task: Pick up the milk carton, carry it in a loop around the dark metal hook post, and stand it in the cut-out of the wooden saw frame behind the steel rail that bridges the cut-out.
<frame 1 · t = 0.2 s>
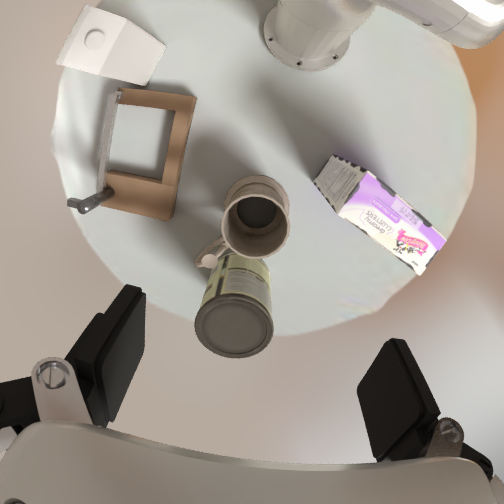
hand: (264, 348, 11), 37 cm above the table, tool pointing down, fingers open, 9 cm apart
mug: (244, 214, 47), on the table
rail: (118, 142, 42), on the table
hook post: (116, 189, 45), resting on wooden saw frame
coffee can: (240, 277, 51), on the table
candy box: (356, 193, 45), on the table
milk carton: (138, 60, 37), on the table
wooden saw frame: (147, 151, 43), on the table
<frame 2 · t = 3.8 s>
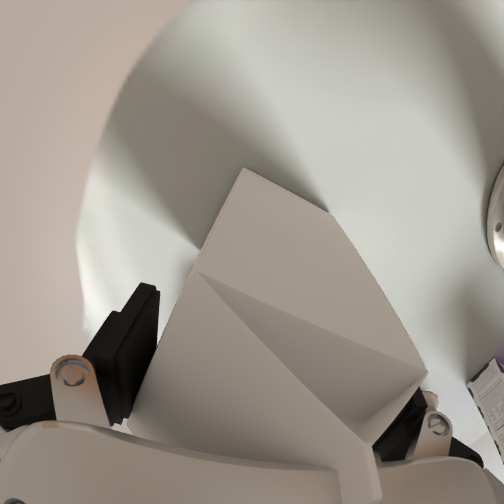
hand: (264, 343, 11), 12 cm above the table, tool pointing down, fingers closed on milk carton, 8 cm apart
candy box: (494, 380, 29), on the table
milk carton: (265, 232, 22), on the table, touching gripper
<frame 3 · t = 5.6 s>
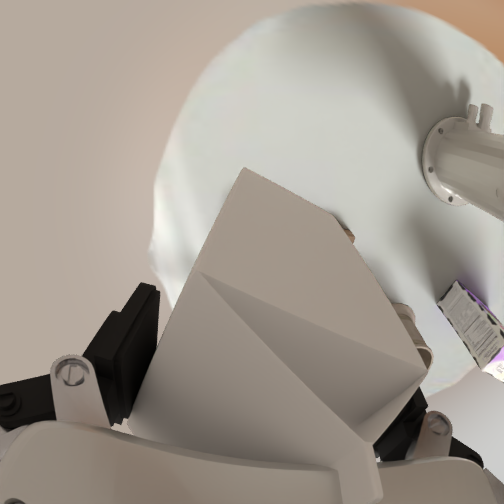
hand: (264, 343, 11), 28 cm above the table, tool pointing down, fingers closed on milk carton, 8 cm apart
mug: (376, 334, 46), on the table
candy box: (464, 306, 43), on the table
milk carton: (265, 232, 22), point 16 cm above the table, touching gripper
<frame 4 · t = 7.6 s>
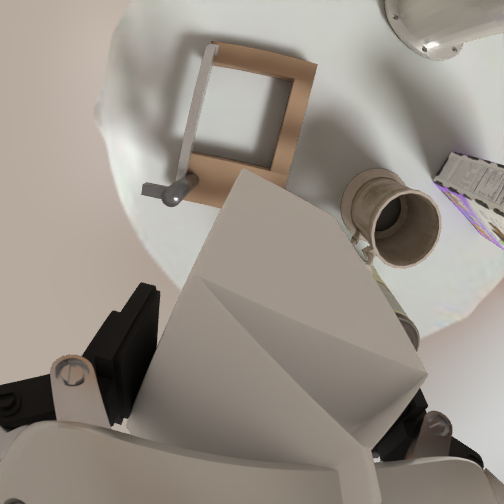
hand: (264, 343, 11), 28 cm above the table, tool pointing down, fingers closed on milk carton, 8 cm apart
mug: (361, 214, 37), on the table
rail: (201, 114, 33), on the table
hook post: (195, 176, 36), resting on wooden saw frame
coffee can: (347, 289, 42), on the table
candy box: (467, 194, 35), on the table
milk carton: (264, 233, 22), point 16 cm above the table, touching gripper
wooden saw frame: (245, 128, 33), on the table
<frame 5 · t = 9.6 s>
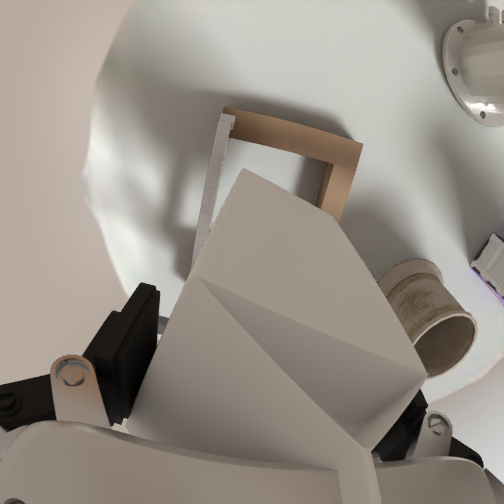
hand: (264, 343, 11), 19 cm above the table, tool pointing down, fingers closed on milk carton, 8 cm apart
mug: (392, 305, 33), on the table
rail: (214, 200, 28), on the table
candy box: (500, 272, 30), on the table
milk carton: (264, 233, 22), point 7 cm above the table, touching gripper
wooden saw frame: (268, 219, 29), on the table
when the fingers open (12 cm above the table, at t = 11.3 s): milk carton stays where it is, on the table.
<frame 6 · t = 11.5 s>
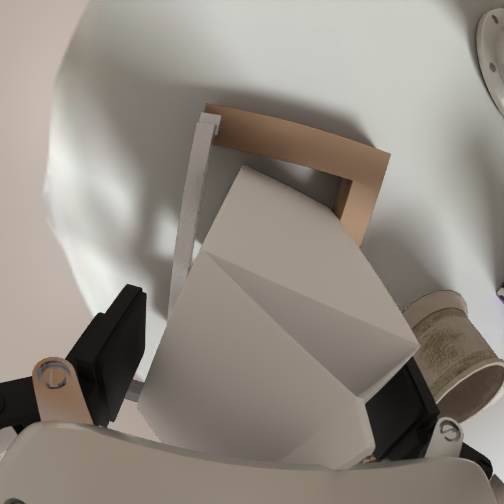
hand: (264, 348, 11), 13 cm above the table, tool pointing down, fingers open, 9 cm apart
mug: (409, 342, 27), on the table
rail: (197, 225, 22), on the table
milk carton: (265, 226, 23), on the table
wooden saw frame: (265, 249, 23), on the table
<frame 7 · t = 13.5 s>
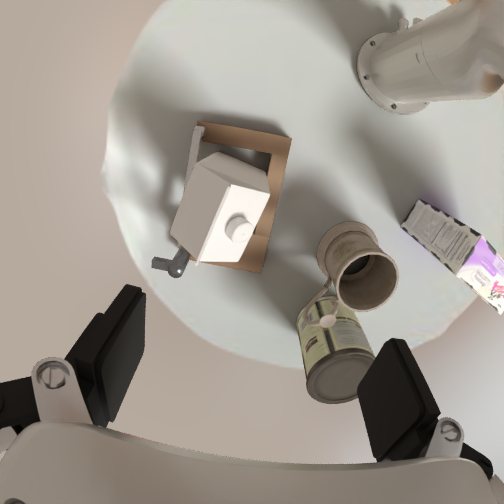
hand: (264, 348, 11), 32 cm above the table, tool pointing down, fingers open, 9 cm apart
mug: (335, 260, 45), on the table
rail: (194, 185, 41), on the table
hook post: (193, 237, 44), resting on wooden saw frame
coffee can: (326, 320, 49), on the table
candy box: (434, 233, 43), on the table
milk carton: (231, 183, 41), on the table
wooden saw frame: (232, 196, 41), on the table
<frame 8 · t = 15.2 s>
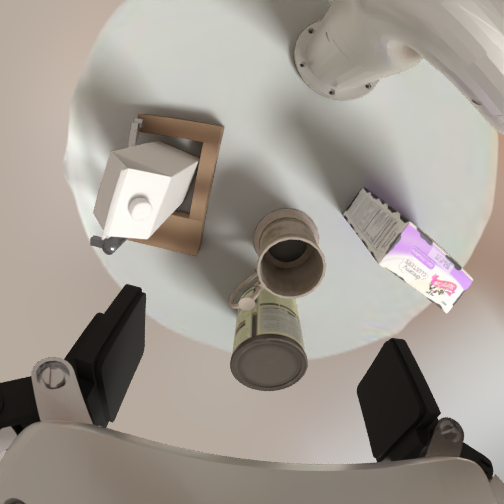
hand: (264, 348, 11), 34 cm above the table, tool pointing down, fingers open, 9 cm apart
mug: (273, 247, 47), on the table
rail: (139, 172, 42), on the table
hook post: (138, 220, 45), resting on wooden saw frame
coffee can: (268, 307, 51), on the table
candy box: (383, 224, 44), on the table
milk carton: (171, 171, 42), on the table
wooden saw frame: (171, 182, 43), on the table
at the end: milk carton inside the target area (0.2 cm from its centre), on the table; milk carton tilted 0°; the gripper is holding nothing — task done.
